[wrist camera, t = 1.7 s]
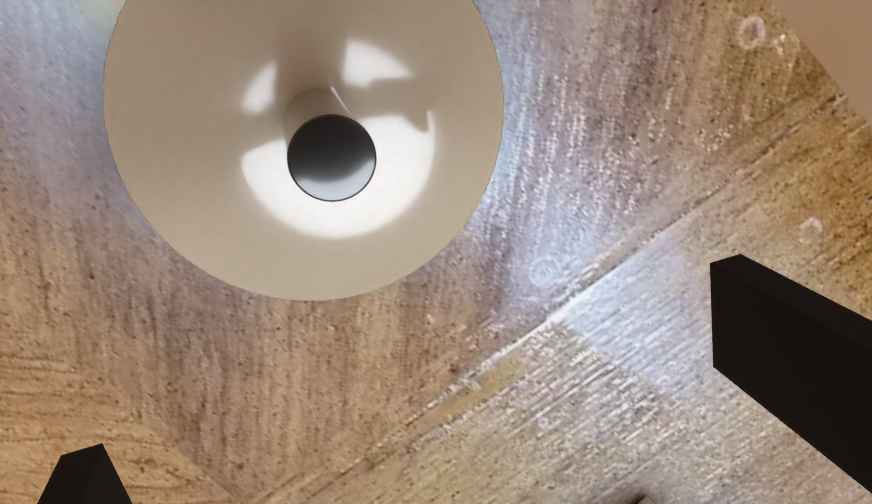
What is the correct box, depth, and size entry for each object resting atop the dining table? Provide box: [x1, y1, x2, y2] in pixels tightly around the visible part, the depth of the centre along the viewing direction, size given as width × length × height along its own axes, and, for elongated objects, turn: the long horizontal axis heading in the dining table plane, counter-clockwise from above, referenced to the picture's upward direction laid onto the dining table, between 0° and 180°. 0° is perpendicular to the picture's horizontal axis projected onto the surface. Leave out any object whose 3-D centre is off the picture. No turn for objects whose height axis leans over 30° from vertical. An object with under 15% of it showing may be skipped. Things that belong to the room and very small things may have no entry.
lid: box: [102, 0, 504, 301], centre depth 24 cm, size 17×17×9 cm
